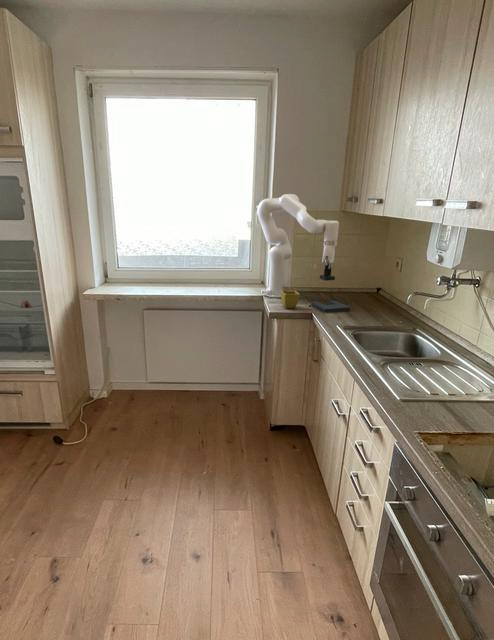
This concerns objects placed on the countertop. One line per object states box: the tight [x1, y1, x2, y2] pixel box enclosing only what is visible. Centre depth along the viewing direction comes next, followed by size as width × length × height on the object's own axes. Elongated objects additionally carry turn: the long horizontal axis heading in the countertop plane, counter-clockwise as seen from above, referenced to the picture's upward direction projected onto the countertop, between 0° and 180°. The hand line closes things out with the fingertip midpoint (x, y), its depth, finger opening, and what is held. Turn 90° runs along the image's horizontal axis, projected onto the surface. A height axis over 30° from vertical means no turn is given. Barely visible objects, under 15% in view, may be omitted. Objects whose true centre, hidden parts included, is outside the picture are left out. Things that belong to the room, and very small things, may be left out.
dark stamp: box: [319, 265, 336, 282], centre depth 245 cm, size 6×6×8 cm
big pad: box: [311, 300, 351, 313], centre depth 243 cm, size 16×16×2 cm
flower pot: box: [280, 290, 301, 309], centre depth 242 cm, size 9×9×9 cm
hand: (327, 275), depth 246 cm, fingers closed on dark stamp, 2 cm apart
